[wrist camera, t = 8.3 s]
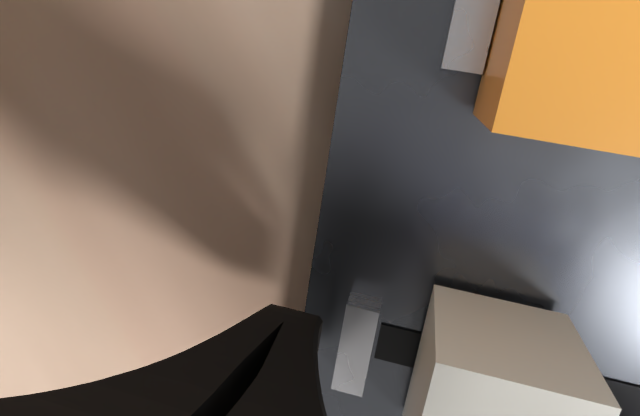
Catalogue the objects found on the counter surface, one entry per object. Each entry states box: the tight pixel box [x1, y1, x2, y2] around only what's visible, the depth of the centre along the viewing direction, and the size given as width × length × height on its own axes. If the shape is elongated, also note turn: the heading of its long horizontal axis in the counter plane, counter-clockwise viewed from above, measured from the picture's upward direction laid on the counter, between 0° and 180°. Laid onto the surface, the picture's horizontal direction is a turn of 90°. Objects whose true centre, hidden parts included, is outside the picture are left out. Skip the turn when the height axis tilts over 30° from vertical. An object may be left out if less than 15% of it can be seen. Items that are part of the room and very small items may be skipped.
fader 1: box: [473, 0, 640, 158], centre depth 8 cm, size 4×3×3 cm
